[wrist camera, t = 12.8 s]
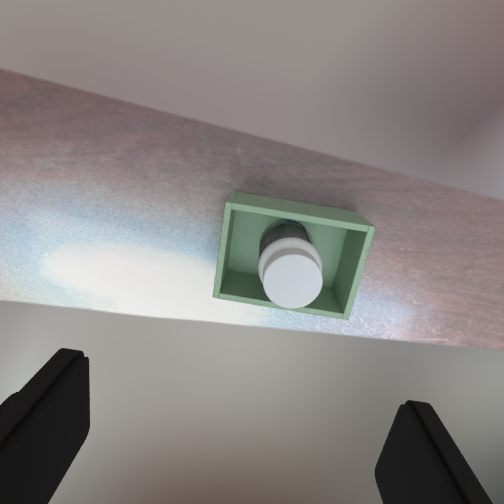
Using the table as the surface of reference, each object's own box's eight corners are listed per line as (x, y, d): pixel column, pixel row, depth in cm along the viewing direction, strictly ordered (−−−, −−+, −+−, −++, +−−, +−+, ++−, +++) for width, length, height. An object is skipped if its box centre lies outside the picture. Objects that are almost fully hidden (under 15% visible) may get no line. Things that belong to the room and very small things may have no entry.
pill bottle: (248, 244, 30) (241, 282, 22) (286, 207, 28) (293, 233, 20) (285, 278, 31) (291, 326, 23) (323, 244, 29) (343, 283, 21)
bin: (221, 271, 31) (212, 297, 26) (233, 190, 29) (225, 201, 23) (335, 290, 31) (348, 320, 26) (356, 211, 29) (376, 227, 24)
